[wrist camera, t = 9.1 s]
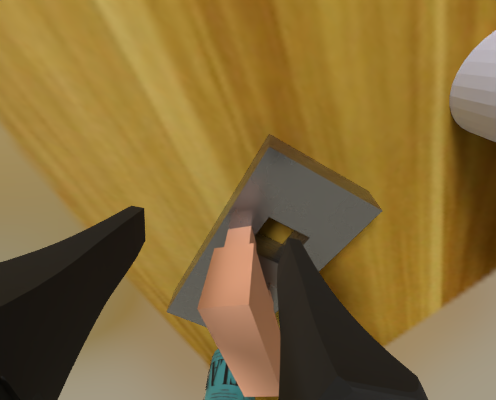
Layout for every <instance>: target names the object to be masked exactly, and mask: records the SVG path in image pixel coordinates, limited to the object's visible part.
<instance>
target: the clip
mask: <svg viewBox="0 0 496 400" xmlns="http://www.w3.org/2000/svg"><path fill="white" fill-rule="evenodd" d="M256 245H257V244H256V241H255V237H254V234H253V230H252V227H251V226H247V227H240V228H233V229H228V232H227V236H226V241H225V245H224V247H220V248H214V251H213V255H212V258H211V262H210V265H209V269H208V273H207V276H206V280H205V283H204V287H203V290H202V294H201V297H200V301H199V304H198V308H197V310H198V311H199V313H200V315H201V317H202V319H203V321H204V323H205V324H206V326H207V328H208V330H209V332H210V334H211V336H212V337H213V339H214V341H215V343H216V345H217V347H218V349H219V350H220V352H221V354H222V356H223V358H224V360H225V362H226V363H227V365H228V367H229V369H230V371H231V373H232V375H233V376H234V378H235V380H236V382H237V384H238V386H239V388H240V389H241V391H242V393H243V395H244V397H270V396H279V376H280V330H279V326H278V323H277V319H276V316H275V313H274V303H273V299H272V296H271V292H270V290H268V289H267V286H266V282H265V279H264V275H263V272H262V269H261V265H260V262H259V258H258V255H257V252H256Z"/></svg>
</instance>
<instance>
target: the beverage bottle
mask: <svg viewBox="0 0 496 400" xmlns="http://www.w3.org/2000/svg"><path fill="white" fill-rule="evenodd" d="M212 357H213V358H212V363H211V362H210V363H211V366H210V370H209V371H210V374H209V377H208V379H207V384H206V385H207V386H206V389H207V390H206V395H205V400H255V397H244V395H243V393H242V391H241V389H240V388H239V386H238V384H237V382H236V380H235V378H234V376H233V375H232V373H231V371H230V369H229V367H228V365H227V363H226V362H225V360H224V358H223V356H222V354H221V352H220V350H219V349H217V350H216V351H215V353H214V355H213V356H212ZM208 373H209V372H208Z"/></svg>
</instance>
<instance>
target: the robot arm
mask: <svg viewBox="0 0 496 400" xmlns="http://www.w3.org/2000/svg"><path fill="white" fill-rule="evenodd" d="M450 109H451V114H452V116H453V118H454V120H455V122H456V123H457V124H458V125H459V126H460V127H461V128H463V129H465V130H467V131H468V132H471V133H473V134H476V135H478V136H481V137H483V138H486V139H488V140H491V141H493V142H496V30H495V31H494V32H493V33H491V34H490V35H489V36H488V37H486V38H485V39H484V40H483V41H482V42H481V43H480V44H479V45H478V46H477V47H476V48H475V49H474V50H473V51H472V52H471V53H470V54H469V56H468V57H467V58H466V60H465V61H464V62H463V64H462V66H461V67H460V69H459V71H458V72H457V74H456V77H455V79H454V82H453V84H452V88H451V93H450ZM144 242H145V219H144V208H140V207H135V206H130V207H128V208H126V209H124V210H123V211H121V212H119V213H117V214H115V215H113V216H111V217H110V218H108V219H106V220H104V221H102V222H100V223H98V224H96V225H94V226H92V227H90V228H88V229H86V230H84V231H82V232H80V233H78V234H76V235H74V236H72V237H69V238H67V239H65V240H63V241H60V242H58V243H55V244H53V245H50V246H48V247H45V248H43V249H40V250H37V251H35V252H31V253H28V254H25V255H22V256H19V257H17V258H13V259H10V260H8V261H4V262H0V400H58V397H59V395H60V393H61V391H62V389H63V386H64V384H65V382H66V380H67V378H68V375H69V373H70V371H71V369H72V367H73V365H74V363H75V361H76V359H77V357H78V355H79V353H80V351H81V349H82V347H83V345H84V343H85V341H86V339H87V337H88V335H89V333H90V331H91V329H92V327H93V326H94V324H95V322H96V320H97V318H98V316H99V315H100V313H101V311H102V309H103V307H104V305H105V304H106V302H107V301H108V299H109V297H110V296H111V294H112V293H113V292H114V290H115V288H116V287H117V285H118V284H119V283H120V281H121V280H122V278H123V277H124V275H125V274H126V273H127V271H128V270H129V268H130V267H131V265H132V264H133V262H134V261H135V259H136V258H137V256H138V254H139V252H140V250H141V248H142V246H143V244H144ZM277 296H278V309H279V322H280V376H279V400H428V398H427V396H426V394H425V392H424V390H423V387H422V385H421V383H420V381H419V379H418V377H417V376H416V375H415V374H413V373H412V372H411V371H410V370H409V369H408V368H406V367H405V366H404V365H403V364H402V363H400V362H399V361H398V360H397V359H396V358H394V357H393V356H392V355H391V354H390V353H389V352H388V351H387V350H385V349H384V348H383V347H382V346H381V345H380V344H379V343H378V342H377V341H376V340H375V339H374V338H373V337H372V336H371V335H370V334H369V333H368V332H367V331H366V330H365V329H364V328H363V327H362V326H361V325H360V324H359V323H358V322H357V321H356V320H355V319H354V318H353V316H352V315H351V314H350V313H349V312H348V311H347V310H346V308H345V307H344V306H343V305H342V303H341V302H340V301H339V300H338V299H337V297H336V296H335V295H334V293H333V292H332V291H331V289H330V288H329V287H328V285H327V284H326V282H325V281H324V279H323V278H322V276H321V275H320V273H319V271H318V270H317V268H316V267H315V265H314V263H313V262H312V260H311V258H310V257H309V255H308V253H307V251H306V249H305V248H304V246H303V244H302V242H301V241H300V240H299V239H294V238H289V237H288V239H287V241H286V244H285V247H284V250H283V252H282V255H281V258H280V261H279V263H278V267H277Z"/></svg>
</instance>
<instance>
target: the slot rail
mask: <svg viewBox="0 0 496 400" xmlns="http://www.w3.org/2000/svg"><path fill="white" fill-rule="evenodd" d="M381 212H382V210H381V208H380V207H379V205H378V204H377V203H376V201H375V200H374V198H373V197H372V196H371V194H370V193H369V191H367V190H365V189H363V188H362V187H360V186H358V185H356V184H355V183H353V182H351V181H350V180H348V179H346V178H344V177H343V176H341V175H339V174H337V173H336V172H334V171H332V170H331V169H329V168H327V167H325V166H324V165H322V164H320V163H318V162H317V161H315V160H313V159H312V158H310V157H308V156H306V155H305V154H303V153H301V152H299V151H298V150H296V149H294V148H293V147H291V146H289V145H287V144H286V143H284V142H282V141H280V140H279V139H277V138H275V137H274V136H272V135H270V134H269V135H268V137H267V139H266V140H265V142H264V144H263V145H262V147H261V149H260V150H259V152H258V154H257V155H256V157H255V158H254V160H253V162H252V163H251V165H250V167H249V168H248V170H247V172H246V173H245V175H244V177H243V178H242V180H241V182H240V183H239V185H238V187H237V188H236V190H235V192H234V193H233V195H232V197H231V198H230V200H229V202H228V203H227V205H226V207H225V208H224V210H223V212H222V213H221V215H220V216H219V218H218V220H217V221H216V223H215V225H214V226H213V228H212V230H211V231H210V233H209V235H208V236H207V238H206V240H205V241H204V243H203V245H202V246H201V248H200V250H199V251H198V253H197V255H196V256H195V258H194V260H193V261H192V263H191V265H190V266H189V268H188V270H187V271H186V273H185V274H184V276H183V278H182V279H181V281H180V283H179V284H178V286H177V288H176V289H175V292H174V294H173V297H172V299H171V302H170V304H169V307H168V309H167V312H168V313H171V314H173V315H176V316H179V317H181V318H184V319H186V320H189V321H192V322H194V323H197V324H200V325H202V326H205V327H207V326H206V324H205V323H204V321H203V319H202V317H201V315H200V313H199V311H198V310H197V308H198V304H199V301H200V297H201V294H202V290H203V287H204V283H205V280H206V276H207V273H208V269H209V265H210V262H211V258H212V255H213V251H214V248H220V247H224V245H225V241H226V236H227V232H228V229H233V228H240V227H247V226H251V227H252V230H253V234H254V237H255V241H256V244H257V245H256V252H257V255H258V258H259V262H260V265H261V269H262V272H263V275H264V279H265V282H266V286H267V289H268V290H270V292H271V296H272V299H273V303H274V313H276V312H277V311H278V310H279V309H278V296H277V267H278V263H279V261H280V258H281V255H282V252H283V250H284V247H285V244H286V241H287V239H288V238H287V239H286V241H285V242H284V243H283V244H280V243H278V242H276V241H274V240H272V239H270V238H268V237H266V236H264V235H262V234H259V233H257V232H258V231H259V230H260V228H261V227H262V225H263V224H264V223H265V221H266V220H267V219H268V217H270V218H272V219H274V220H276V221H278V222H280V223H282V224H284V225H286V226H288V227H290V228H292V229H294V231H293V232H292V234H291V235H290V236H289V238H294V239H299V240H300V241H301V242H302V244H303V246H304V248H305V249H306V251H307V253H308V255H309V257H310V258H311V260H312V262H313V263H314V265H315V267H316V268H317V270H318V271H320V270H321V269H322V268H323V267H324V266H325V265H326V264H327V263H328V262H329V261H330V260H331V259H332V258H333V257H335V256H336V255H337V254H338V253H339V252H340V251H341V250H342V249H343V248H344V247H345V246H346V245H347V244H348V243H349V242H350V241H351V240H352V239H353V238H354V237H355V236H356V235H358V234H359V233H360V232H361V231H362V230H363V229H364V228H365V227H366V226H367V225H368V224H369V223H370V222H371V221H372V220H373V219H374V218H375V217H376V216H377V215H378V214H380V213H381Z"/></svg>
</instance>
